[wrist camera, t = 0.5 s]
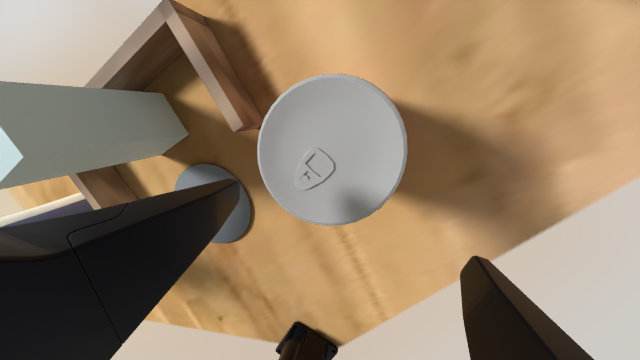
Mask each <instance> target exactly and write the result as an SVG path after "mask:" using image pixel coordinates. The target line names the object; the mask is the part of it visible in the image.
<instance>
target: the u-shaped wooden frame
mask: <svg viewBox="0 0 640 360" xmlns="http://www.w3.org/2000/svg"><path fill="white" fill-rule="evenodd" d="M183 52H185V53H186V55H187V57H188V58H189V60H190V62H191V63H192V65H193V67H194V68H195V70H196V72H197V73H198V75H199V76H200V78H201V80H202V81H203V83H204V85H205V86H206V88H207V90H208V91H209V93H210V95H211V96H212V98H213V99H214V101H215V103H216V104H217V106H218V108H219V109H220V111H221V113H222V114H223V116H224V118H225V119H226V121H227V122H228V124H229V126H230V127H231V129H232V131H233V132H239V131H245V130H251V129H256V128H258V127H259V126H261V125H262V123H263V119H262V117H261V115H260V114H259V112H258V110H257V108H256V107H255V105H254V103H253V102H252V100H251V98H250V96H249V95H248V93H247V91H246V90H245V88H244V86H243V84H242V83H241V81H240V79H239V78H238V76H237V74H236V72H235V71H234V69H233V67H232V65H231V64H230V62H229V60H228V59H227V57H226V55H225V53H224V52H223V50H222V48H221V47H220V45H219V43H218V41H217V40H216V38H215V36H214V35H213V33H212V31H211V29H210V28H209V26H208V24H207V23H206V21H205V19H204V17H203V16H202V15H201V14H199V13H197V12H195V11H193V10H191V9H189V8H187V7H186V6H184V5H182V4H180V3H178V2H176V1H174V0H163V1H162V2H161V3H160V4H159V5H158V6H157V7H156V8H155V9H154V11H153V12H152V13H151V14H150V15H149V16H148V17H147V18H146V19H145V20H144V22H143V23H142V24H141V25H140V26H139V27H138V28H137V29H136V30H135V31H134V33H133V34H132V35H131V36H130V37H129V38H128V39H127V40H126V41H125V42H124V44H123V45H122V46H121V47H120V48H119V49H118V50H117V51H116V52H115V53H114V54H113V56H112V57H111V58H110V59H109V60H108V61H107V62H106V63H105V64H104V65H103V67H102V68H101V69H100V70H99V71H98V72H97V73H96V74H95V75H94V76H93V78H92V79H91V80H90V81H89V82H88V83H87V84H86V85H85V86H84V87H85V88H98V89H112V90H126V91H139V92H141V91H142V90H143V89H144V88H146V87H147V86H148V85H149V84H150V83H151V82H152V81H153V80H154V79H155V78H156V77H157V76H158V75H159V74H161V73H162V72H163V71H164V70H165V69H166V68H167V67H168V66H169V65H170V64H171V63H172V62H173V61H174V60H176V59H177V58H178V57H179V56H180V55H181V54H182V53H183ZM69 177H70V178H71V179H72V181H73V182H74V183H75V185H76V186H77V187H78V189H79V190H80V191H81V193H82V194H83V195H84V197H85V198H86V200H87V201H88V202H89V204H90V205H91V206H92V208H93V209H94V210H97V209H101V208H105V207H110V206H114V205H119V204H123V203H127V202H129V203H130V202H132V201H136V200H138V199H137V198H136V196H135V195H134V194H133V192H132V191H131V189H130V188H129V186H128V185H127V184H126V182H125V181H124V179H123V178H122V177H121V175H120V174H119V172H118V171H117V170H116V168H115V167H114V165H112V166H108V167H103V168H98V169H94V170H89V171H84V172H80V173H75V174H70V175H69Z"/></svg>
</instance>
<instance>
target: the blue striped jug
mask: <svg viewBox="0 0 640 360" xmlns="http://www.w3.org/2000/svg"><path fill="white" fill-rule="evenodd" d="M92 210H94V209H93V208H92V206H91V205H90V204H89V202H88V201H87V200H86V198H85V197H84V195H83V194H82V193H77V194H74V195H71V196H68V197H65V198H63V199H60V200H57V201H54V202H50V203H47V204H44V205H41V206H38V207H35V208H32V209H28V210H25V211H22V212H19V213H15V214H12V215H8V216H5V217H2V218H0V227H7V226H13V225H19V224H24V223H29V222H35V221H40V220H45V219H50V218H56V217H61V216H66V215H72V214H77V213H82V212H87V211H92Z"/></svg>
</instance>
